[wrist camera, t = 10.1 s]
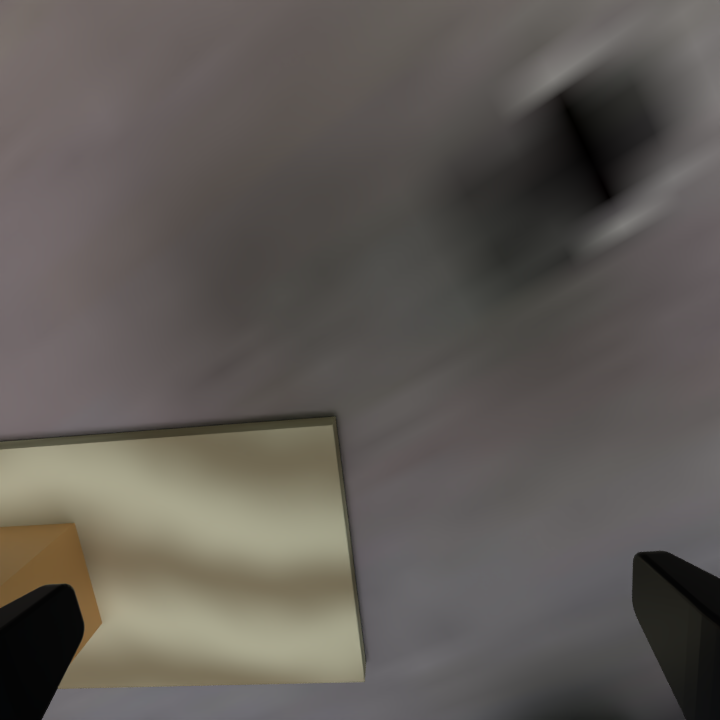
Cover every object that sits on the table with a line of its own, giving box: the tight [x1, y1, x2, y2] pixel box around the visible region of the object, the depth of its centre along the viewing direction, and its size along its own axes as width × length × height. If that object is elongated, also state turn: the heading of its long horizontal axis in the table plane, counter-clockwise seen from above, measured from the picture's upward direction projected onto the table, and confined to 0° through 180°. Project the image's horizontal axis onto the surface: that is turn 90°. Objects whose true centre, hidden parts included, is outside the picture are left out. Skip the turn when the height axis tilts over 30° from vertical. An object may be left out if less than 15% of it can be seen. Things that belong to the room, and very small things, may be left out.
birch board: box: [0, 417, 366, 689], centre depth 21 cm, size 13×20×1 cm, turn 96°
